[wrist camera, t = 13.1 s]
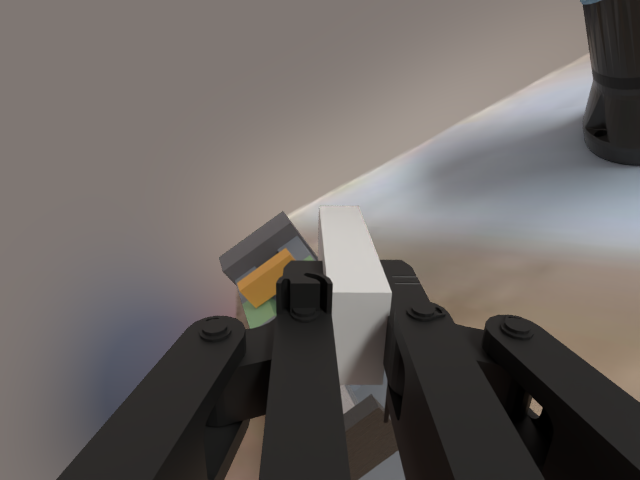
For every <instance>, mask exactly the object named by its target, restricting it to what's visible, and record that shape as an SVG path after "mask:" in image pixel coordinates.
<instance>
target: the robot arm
mask: <svg viewBox="0 0 640 480" xmlns="http://www.w3.org/2000/svg"><path fill="white" fill-rule="evenodd" d="M580 2H582V4H583V10H584V16H585V23H586V31H587V37H588V45H589V52H590V60H591V66H592V74H593V83H592V87H591V91H590V94H589V98H588V102H587V106H586V110H585V114H584V117H583V132H584V139H585V143H586V145H587V147H588V148H589V149H590V150H591V151H592V152H593V153H594V154H596V155H597V156H599V157H601V158H604V159H606V160H609V161H613V162H617V163H623V164H632V165H640V0H580ZM384 369H385V373H386V377H387V380H388V381H387V391H386V400H385V409H384V423H388V418H389V415H390V417H391V422H392V426H393V430H394V434H395V438H396V442H397V446H398V451H399V455H400V459H401V463H402V467H403V471H404V476H405V480H640V402H638V401H637V400H636V399H634V398H633V397H632V396H630V395H629V394H628V393H626V392H625V391H624V390H622V389H621V388H620V387H619V386H617V385H616V384H615V383H613V382H612V381H611V380H609V379H608V378H607V377H605V376H604V375H603V374H602V373H600V372H599V371H598V370H596V369H595V368H594V367H592V366H591V365H590V364H588V363H587V362H586V361H584V360H583V359H582V358H581V357H579V356H578V355H577V354H575V353H574V352H573V351H571V350H570V349H569V348H567V347H566V346H565V345H564V344H562V343H561V342H560V341H558V340H557V339H556V338H554V337H553V336H552V335H550V334H549V333H548V332H546V331H545V330H544V329H543V328H541V327H540V326H538V325H536V324H535V323H533V322H531V321H529V320H526V319H524V318H522V317H519V316H513V315H497V316H493V317H490V318H489V319H488V320H487V321H486V324H485V329H484V330H481V329H476V328H471V327H465V326H461V325H457V324H455V323H454V321H453V319H452V318H451V316H450V314H449V313H448V312H447V311H446V310H445V309H444V308H443V307H441V306H439V305H437V304H435V303H432V302H430V301H429V299H428V297H427V295H426V293H425V291H424V289H423V287H422V285H421V284H420V282H419V280H418V278H417V277H416V274H415V272H414V270H413V268H412V267H411V266H409V265H408V264H406V263H405V262H404V261H402V260H379V257H378V255H377V252H376V250H375V247H374V244H373V242H372V239H371V237H370V234H369V231H368V229H367V226H366V224H365V221H364V218H363V216H362V213H361V211H360V208H359V206H319V232H318V261H306V260H291V261H290V262H289V263H288V264H287V265H286V266H285V267H284V268H283V276H281V277H280V278H279V279H278V280H277V282H276V317H275V318H274V319H273V320H272V321H270V322H269V323H267V324H265V325H262V326H259V327H255V328H251V329H246V330H245V327H244V325H243V323H242V322H240V321H239V320H238V319H236V318H232V317H228V316H213V317H207V318H204V319H201V320H199V321H197V322H195V323H193V324H192V325H191V326H190V327H188V328H187V329H186V331H185V332H184V333H183V334H182V335H181V337H179V339H178V340H177V341H176V342H175V343H174V344H173V345H172V347H171V348H170V349H169V350H168V351H167V352H166V354H165V355H164V356H163V357H162V358H161V360H159V362H158V363H157V364H156V365H155V366H154V368H153V369H152V370H151V371H150V372H149V373H148V374H147V375H146V377H145V378H144V379H143V380H142V381H141V382H140V384H139V385H138V386H137V387H136V388H135V389H134V391H133V392H132V393H131V394H130V395H129V396H128V398H127V399H126V400H125V401H124V402H123V403H122V405H121V406H120V407H119V408H118V409H117V410H116V411H115V412H114V414H113V415H112V416H111V417H110V418H109V419H108V421H107V422H106V423H105V424H104V425H103V426H102V427H101V429H100V430H99V431H98V432H97V433H96V435H95V436H94V437H93V438H92V439H91V440H90V441H89V442H88V444H87V445H86V446H85V447H84V448H83V449H82V451H81V452H80V453H79V454H78V455H77V456H76V457H75V459H74V460H73V461H72V462H71V463H70V464H69V466H68V467H67V468H66V469H65V470H64V471H63V473H62V474H61V475H60V476H59V477H58V478H57V479H56V480H224V479H225V477H226V475H227V472H228V470H229V468H230V466H231V464H232V462H233V459H234V457H235V455H236V453H237V451H238V448H239V446H240V444H241V442H242V440H243V438H244V435H245V433H246V431H247V429H248V426H249V421H250V419H251V418H255V417H258V416H262V415H266V417H265V427H264V436H263V446H262V455H261V465H260V474H259V480H351V477H350V468H349V459H348V451H347V442H346V433H345V425H344V416H343V407H342V399H341V390H340V385H383V376H384ZM532 397H533V398H534V399H535V400H536V401H537V402H538V403H539V404H540V405H541V406H542V407H543V409H542V412H541V415H540V416H538V415H537V414H536V413H534V412H533V411H532V410H531V409H530V408H529V407H530V403H531V400H532Z"/></svg>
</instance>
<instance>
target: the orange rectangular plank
mask: <svg viewBox="0 0 640 480" xmlns="http://www.w3.org/2000/svg"><path fill="white" fill-rule="evenodd" d="M291 260H295V258H294V257H293V256H292V255H291V253H290V252H289V251H288V250H287V248H285V249H283V250H282V251H280V252H279V253H278V254H276V255H275V256H273V257H272V258H271V259H269V260H268V261H267V262H265V263H264V264H262V265H261V266H260V267H258V268H257V269H256V270H254V271H253V272H251V273H250V274H249V275H247V276H246V277H245V278H243V279H242V280H240V281H239V282H238V283H237V285H238V288H239V291H240V292H241V294H242V295H243V296H244V297H245V298H246V299H247V300H248V301H249V302H250V303H251V304H252V305H253V306H254V307H255V308H257V307H259V306H260V305H262V304H263V303H264V302H266V301H267V300H268V299H270V298H271V297H273V296H274V295H275V294H276V282H277V280H278V279H279V278H280V277H281V276H283V268H284V267H285V266H286V265H287V264H288V263H289V262H290V261H291Z"/></svg>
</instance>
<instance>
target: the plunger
mask: <svg viewBox="0 0 640 480" xmlns="http://www.w3.org/2000/svg"><path fill="white" fill-rule="evenodd" d="M340 390H341V399H342V407H343V416H344V425H345V433H346V442H347V451H348V459H349V468H350V477H351V480H358V479H360V478H361V477H362V476H364V475H365V474H367V473H368V472H369V471H371V470H372V469H373V468H375V467H376V466H378V465H379V464H380V463H382V462H383V461H384V460H386V459H387V458H389V457H390V456H391V455H393V454H394V453H395V452H397V451H398V446H397V442H396V438H395V434H394V430H393V426H392V422H391V417H390V415H389V418H388V423H384V408H383V406H382V405H381V404H380V403H379V402H378V401H377V400H376V399H375V397H374V396H373V395H372V394H370V395H369V396H368V397H366V398H365V399H364V400H362V401H361V402H360V403H359V402H358V400H357V398H356V396H355V394H354V392H353V390H352V389H351V387H350V385H340Z"/></svg>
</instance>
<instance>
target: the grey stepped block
mask: <svg viewBox="0 0 640 480" xmlns="http://www.w3.org/2000/svg"><path fill="white" fill-rule="evenodd" d="M285 248H287V250H288V251H289V252H290V253H291V255H292V256H293V257H294V258H295V260H306V261H318V257H317V256H316V254H315V253H314V252H313V250H312V249H311V248H310V246H309V245H308V244H307V242H306V241H305V240H304V238H303V237H302V236H301V234H300V233H299V232H298V230H297V229H296V228H295V226H294V225H293V224H292V222H291V221H290V220H289V218H288V217H287V216H286V214H285V213H284V212H283V211H282V212H281V213H280V214H278V215H277V216H275V217H274V218H273V219H271V220H270V221H268V222H267V223H266V224H264V225H263V226H262V227H260V228H259V229H257V230H256V231H255V232H253V233H252V234H251V235H249V236H248V237H246V238H245V239H244V240H242V241H241V242H239V243H238V244H237V245H235V246H234V247H233V248H231V249H230V250H229V251H227V252H226V253H224V254H223V255H222V256H220V257H219V260H220V263H221V266H222V271H223V272H224V273H225V274H226V275H227V276H228V278H229V279H230V280H231V281H232V282H233V283H234V284H235V285H236V286H237V289H238V292H239V295H240V299H241V302H242V305H243V308H244V311H245V314H246V318H247V321H248V324H249V327H250V329H251V328H255V327H259V326H262V325H265V324H267V323H269V322H270V321H272V320H273V319H274V318H275V317H276V294H275V295H274V296H273V297H271V298H270V299H268V300H267V301H266V302H264V303H263V304H262V305H260V306H259V307H257V308H255V307H254V306H253V305H252V304H251V303H250V302H249V301H248V300H247V299H246V298H245V297H244V296H243V295H242V294H241V292H240V291H239V288H238V285H237V283H238V282H239V281H240V280H242V279H243V278H245V277H246V276H247V275H249V274H250V273H251V272H253V271H254V270H256V269H257V268H258V267H260V266H261V265H262V264H264V263H265V262H267V261H268V260H269V259H271V258H272V257H273V256H275V255H276V254H278V253H279V252H280V251H282V250H283V249H285ZM387 381H388V380H387V377H386V373H385V369H384V376H383V385H350V387H351V389H352V390H353V392H354V394H355V396H356V398H357V400H358V402H359V403H360V402H361V401H362V400H364V399H365V398H366V397H368V396H369V395H370V394H372V395H373V396H374V397H375V399H376V400H377V401H378V402H379V403H380V404H381V405H382V406H383V408H384V409H385V400H386V391H387ZM358 480H405V476H404V471H403V467H402V463H401V459H400V455H399V451H397V452H395V453H394V454H393V455H391V456H390V457H389V458H387V459H386V460H384V461H383V462H382V463H380V464H379V465H378V466H376V467H375V468H373V469H372V470H371V471H369V472H368V473H367V474H365V475H364V476H362V477H361V478H360V479H358Z"/></svg>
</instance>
